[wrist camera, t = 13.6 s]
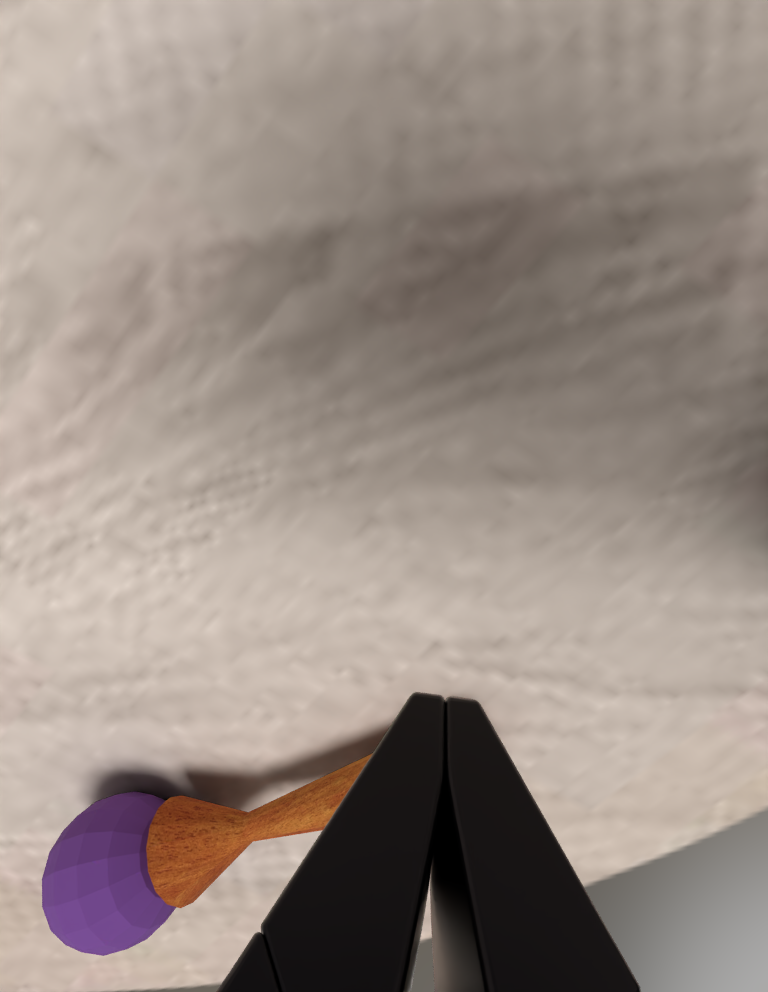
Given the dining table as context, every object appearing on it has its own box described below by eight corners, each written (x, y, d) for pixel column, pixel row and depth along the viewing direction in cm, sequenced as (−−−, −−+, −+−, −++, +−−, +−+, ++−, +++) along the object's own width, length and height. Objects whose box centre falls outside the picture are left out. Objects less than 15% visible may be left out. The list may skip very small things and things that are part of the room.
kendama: (520, 872, 21) (86, 989, 25) (489, 729, 26) (132, 845, 30) (460, 790, 18) (-22, 937, 22) (438, 647, 23) (50, 788, 27)
